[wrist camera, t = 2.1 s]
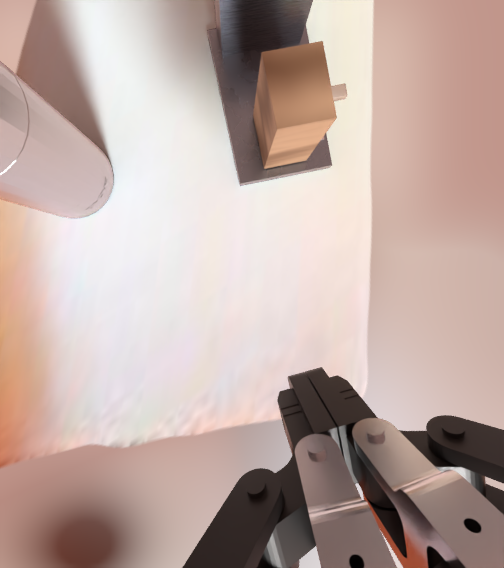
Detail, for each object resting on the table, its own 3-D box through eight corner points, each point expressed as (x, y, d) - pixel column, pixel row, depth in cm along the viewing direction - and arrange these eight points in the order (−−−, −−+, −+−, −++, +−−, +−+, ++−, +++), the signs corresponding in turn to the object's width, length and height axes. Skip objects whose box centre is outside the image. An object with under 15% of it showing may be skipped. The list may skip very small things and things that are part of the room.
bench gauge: (329, 167, 36) (372, 124, 25) (240, 185, 35) (243, 150, 24) (301, 20, 34) (333, -95, 23) (208, 36, 34) (196, -73, 23)
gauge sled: (324, 156, 34) (362, 112, 24) (264, 169, 34) (277, 129, 24) (314, 103, 34) (349, 36, 24) (252, 115, 33) (261, 52, 23)
